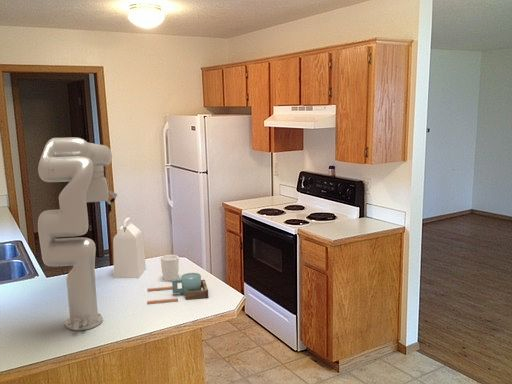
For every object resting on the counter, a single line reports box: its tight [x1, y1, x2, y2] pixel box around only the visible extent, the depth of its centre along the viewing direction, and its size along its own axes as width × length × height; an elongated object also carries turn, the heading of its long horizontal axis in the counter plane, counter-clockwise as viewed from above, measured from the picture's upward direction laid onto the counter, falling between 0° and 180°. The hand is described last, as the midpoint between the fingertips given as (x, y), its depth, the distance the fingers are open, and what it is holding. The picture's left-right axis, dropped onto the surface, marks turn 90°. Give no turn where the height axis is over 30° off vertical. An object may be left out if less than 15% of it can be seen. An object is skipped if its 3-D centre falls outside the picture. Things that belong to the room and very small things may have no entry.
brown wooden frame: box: [184, 279, 209, 301], centre depth 194 cm, size 12×9×3 cm
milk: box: [112, 217, 147, 279], centre depth 214 cm, size 12×12×26 cm
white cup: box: [160, 254, 180, 282], centre depth 209 cm, size 8×8×10 cm
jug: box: [171, 272, 202, 297], centre depth 192 cm, size 8×12×8 cm
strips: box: [146, 285, 179, 305], centre depth 191 cm, size 14×12×1 cm
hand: (97, 213), depth 204 cm, fingers open, 9 cm apart
